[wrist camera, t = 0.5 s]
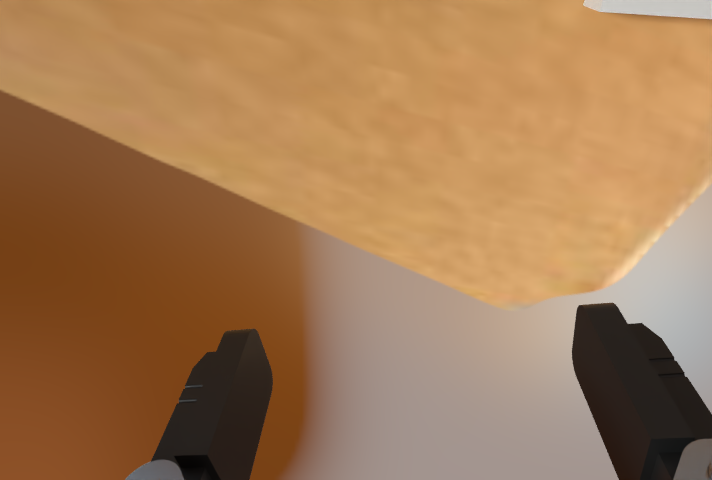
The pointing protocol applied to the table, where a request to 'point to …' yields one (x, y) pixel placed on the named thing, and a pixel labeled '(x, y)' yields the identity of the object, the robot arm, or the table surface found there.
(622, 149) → the table surface
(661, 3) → the breaker panel
